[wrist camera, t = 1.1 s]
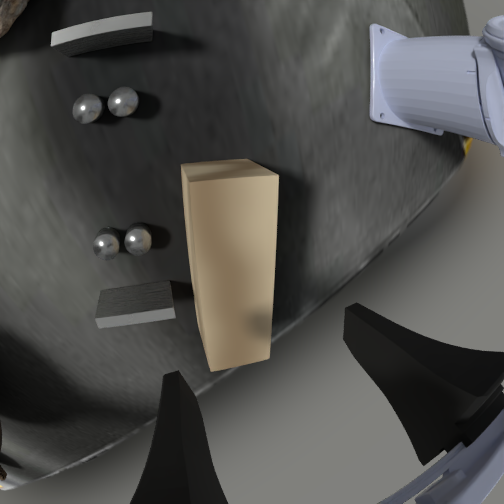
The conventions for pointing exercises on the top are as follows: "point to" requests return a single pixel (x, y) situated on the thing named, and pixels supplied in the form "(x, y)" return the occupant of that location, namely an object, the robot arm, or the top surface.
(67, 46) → the grey blocks and balls
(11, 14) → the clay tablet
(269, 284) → the oak block
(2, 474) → the brown rock
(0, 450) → the glass bottle
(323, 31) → the top surface
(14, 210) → the top surface
